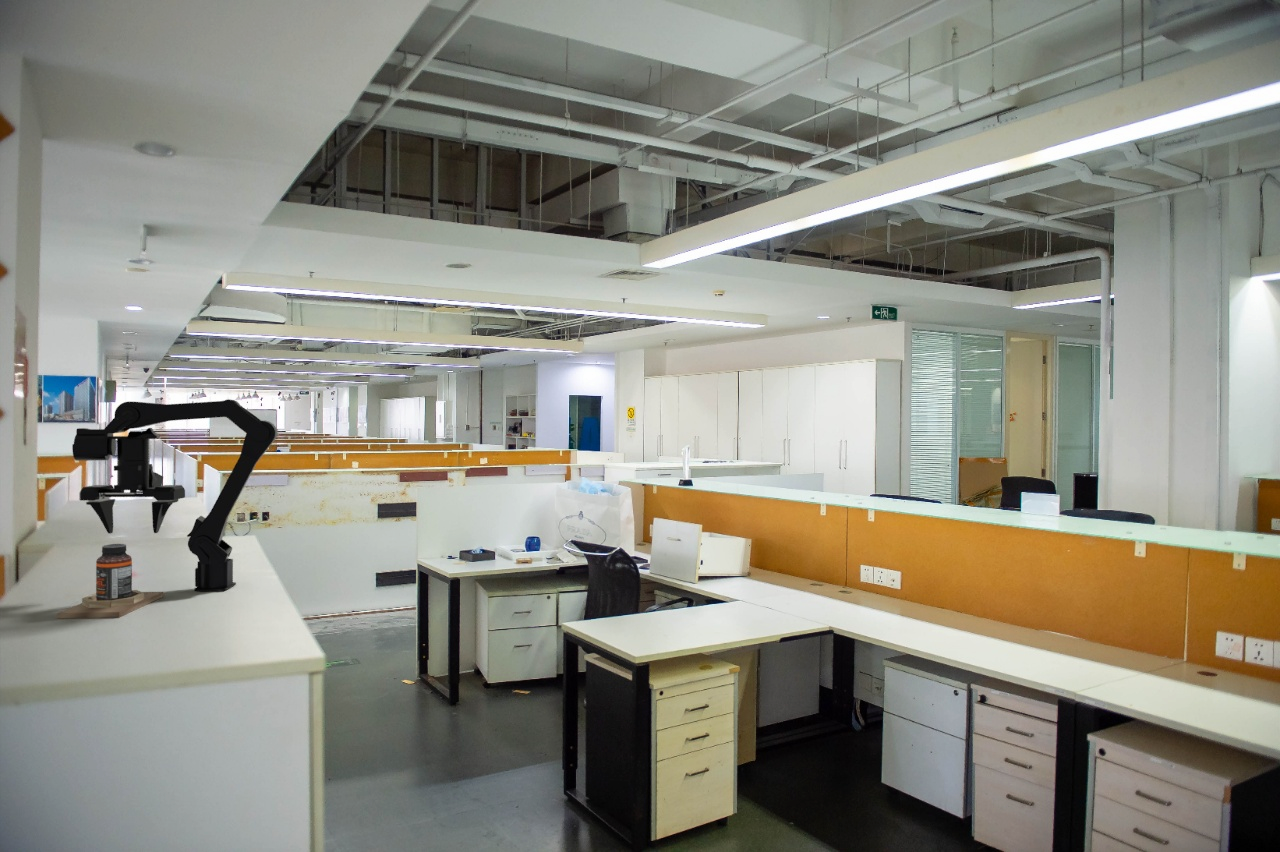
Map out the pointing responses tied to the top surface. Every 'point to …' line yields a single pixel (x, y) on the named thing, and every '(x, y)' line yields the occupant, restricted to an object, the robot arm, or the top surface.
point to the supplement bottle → (113, 573)
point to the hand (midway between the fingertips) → (133, 533)
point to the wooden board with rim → (109, 606)
